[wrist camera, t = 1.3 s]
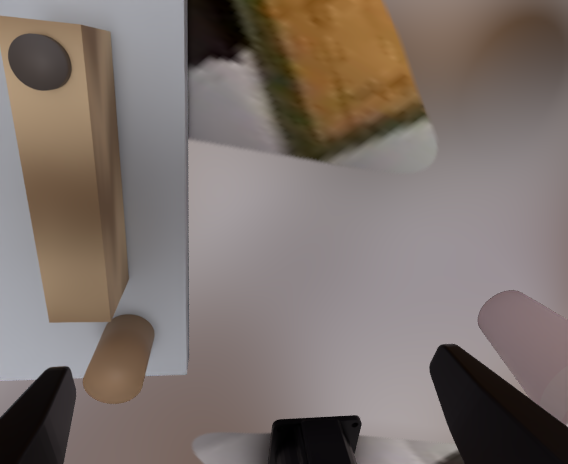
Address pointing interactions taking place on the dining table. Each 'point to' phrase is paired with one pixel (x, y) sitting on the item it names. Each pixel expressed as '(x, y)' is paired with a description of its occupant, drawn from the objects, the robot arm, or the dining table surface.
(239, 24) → the dining table surface
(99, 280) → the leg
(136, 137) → the grey peg board
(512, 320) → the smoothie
